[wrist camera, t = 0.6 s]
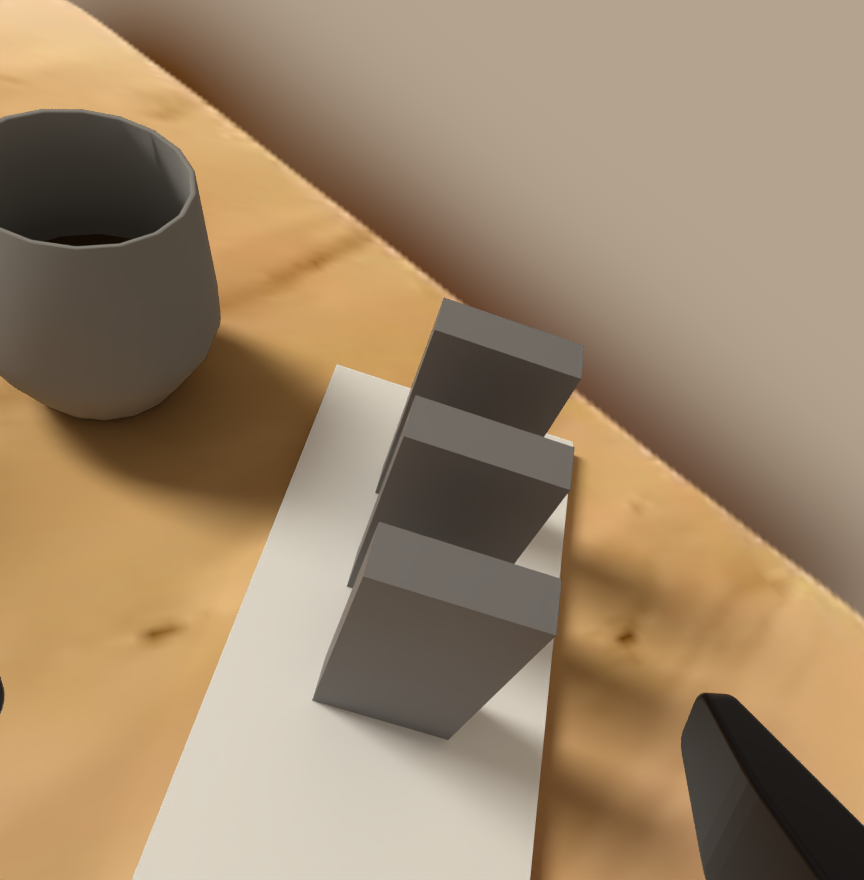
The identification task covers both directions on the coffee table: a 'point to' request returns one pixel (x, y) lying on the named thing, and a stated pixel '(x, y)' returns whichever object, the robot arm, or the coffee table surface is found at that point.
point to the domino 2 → (469, 483)
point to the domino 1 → (493, 371)
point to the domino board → (340, 731)
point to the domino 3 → (434, 632)
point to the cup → (100, 264)
